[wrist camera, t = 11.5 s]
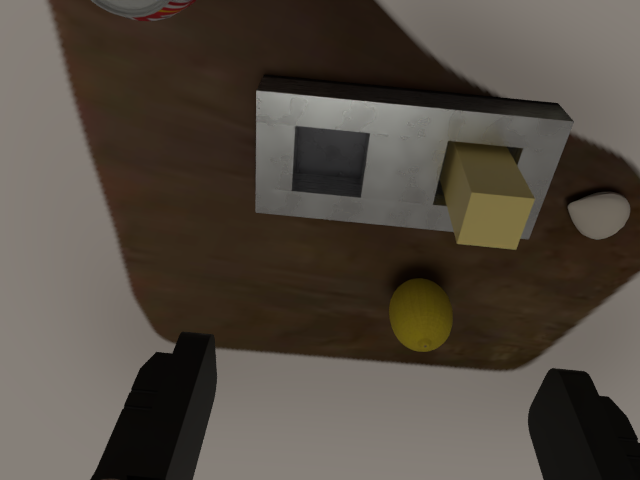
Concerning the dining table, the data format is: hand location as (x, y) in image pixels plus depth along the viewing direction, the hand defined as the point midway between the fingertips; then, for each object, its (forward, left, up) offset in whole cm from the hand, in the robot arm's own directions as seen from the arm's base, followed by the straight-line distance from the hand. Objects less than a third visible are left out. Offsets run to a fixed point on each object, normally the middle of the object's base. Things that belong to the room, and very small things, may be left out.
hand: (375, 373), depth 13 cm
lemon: (+22, +8, -30) cm, 38 cm away
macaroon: (+11, +21, -30) cm, 38 cm away
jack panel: (+8, +4, -30) cm, 31 cm away
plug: (+8, +10, -29) cm, 32 cm away
